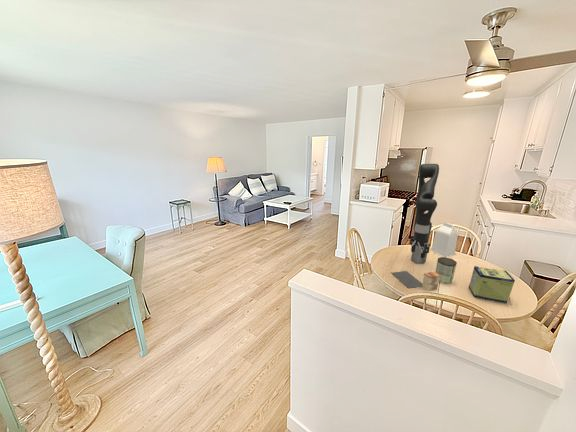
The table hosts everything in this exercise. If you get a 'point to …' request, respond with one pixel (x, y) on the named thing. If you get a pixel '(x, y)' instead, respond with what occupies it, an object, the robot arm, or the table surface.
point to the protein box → (491, 284)
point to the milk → (445, 240)
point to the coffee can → (445, 269)
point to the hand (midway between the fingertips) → (417, 254)
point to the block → (430, 281)
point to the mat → (407, 279)
